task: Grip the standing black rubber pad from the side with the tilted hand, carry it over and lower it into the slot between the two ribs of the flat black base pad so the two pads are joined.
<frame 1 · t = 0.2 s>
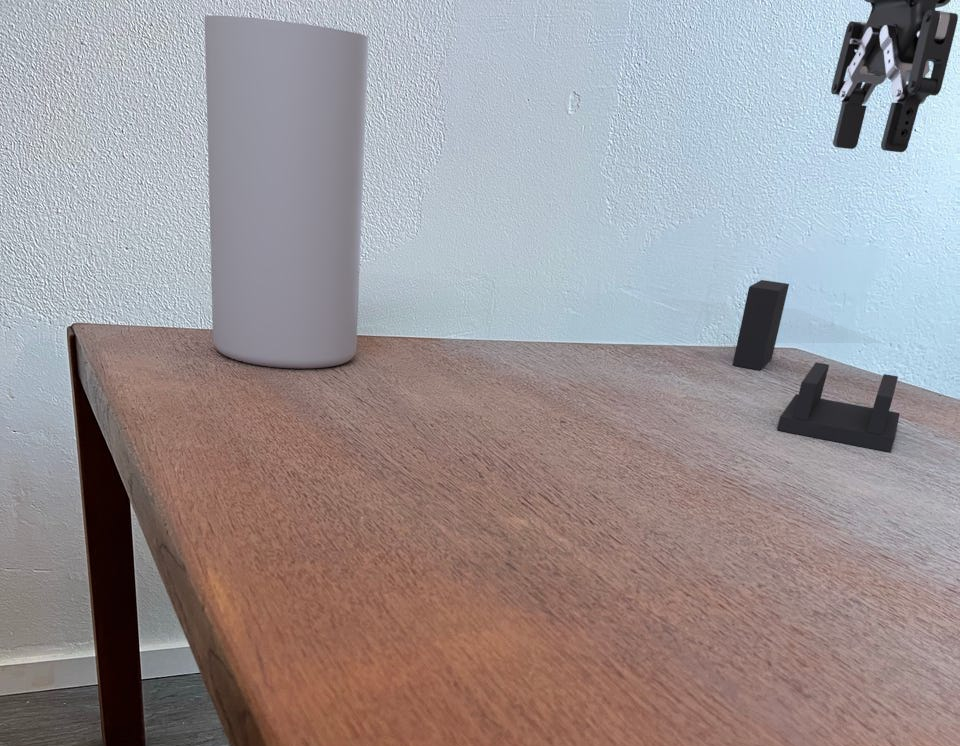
hand: (867, 149, 91), 21 cm above the table, tool pointing down, fingers open, 8 cm apart
base pad: (838, 428, 84), on the table
standing pad: (752, 362, 107), on the table
cylinder vase: (285, 356, 88), on the table
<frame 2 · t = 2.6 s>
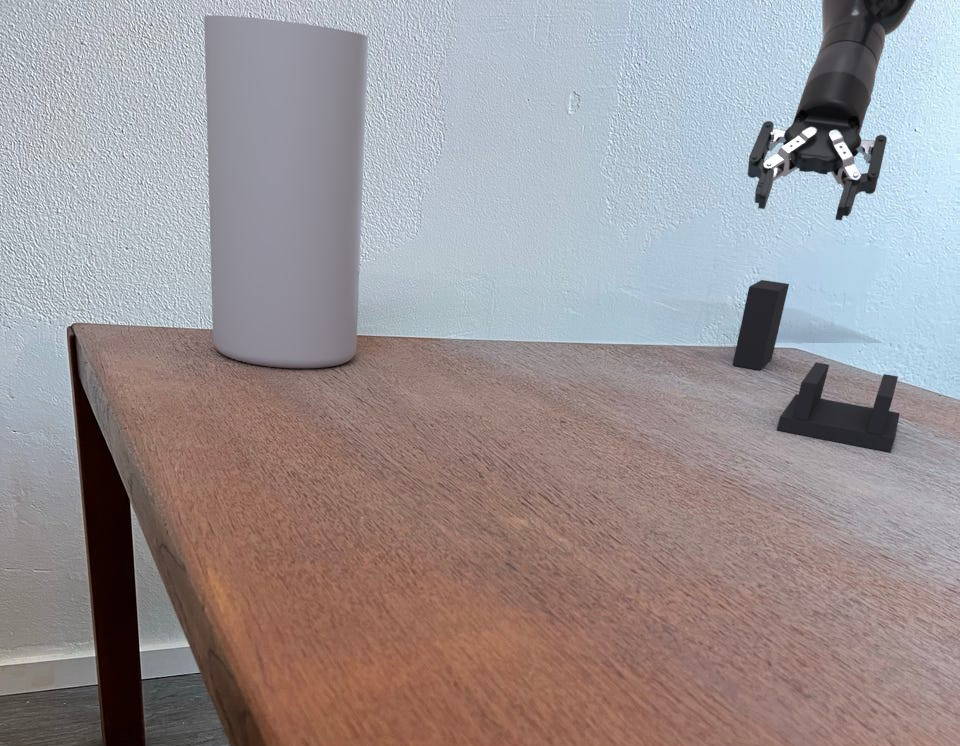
hand: (800, 209, 109), 15 cm above the table, tool tilted 45°, fingers open, 8 cm apart
nothing on the table moved.
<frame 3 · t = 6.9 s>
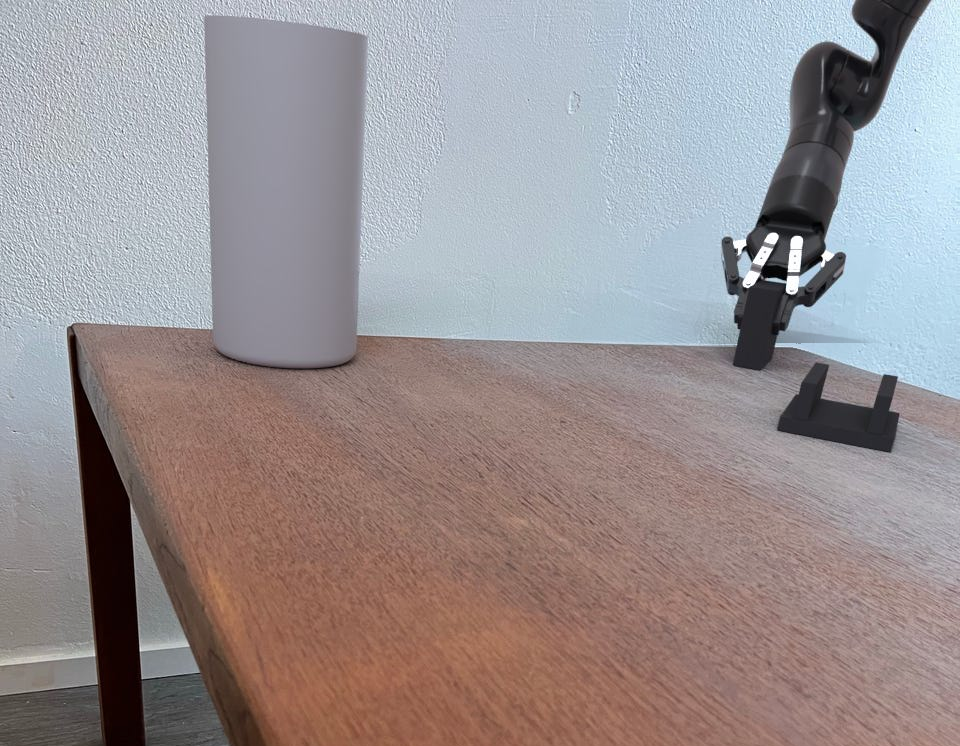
hand: (758, 326, 104), 4 cm above the table, tool tilted 45°, fingers closed on standing pad, 3 cm apart
standing pad: (752, 362, 107), on the table, touching gripper
everything else where it was.
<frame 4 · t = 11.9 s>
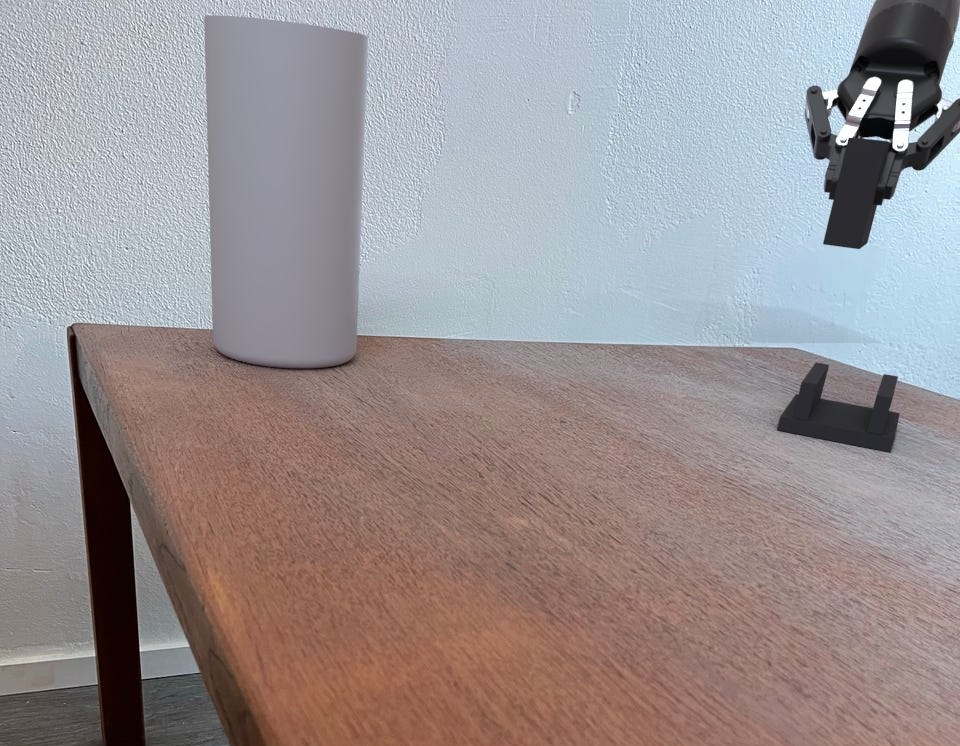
hand: (856, 194, 81), 18 cm above the table, tool tilted 45°, fingers closed on standing pad, 3 cm apart
standing pad: (845, 244, 85), point 14 cm above the table, touching gripper
everything else where it was.
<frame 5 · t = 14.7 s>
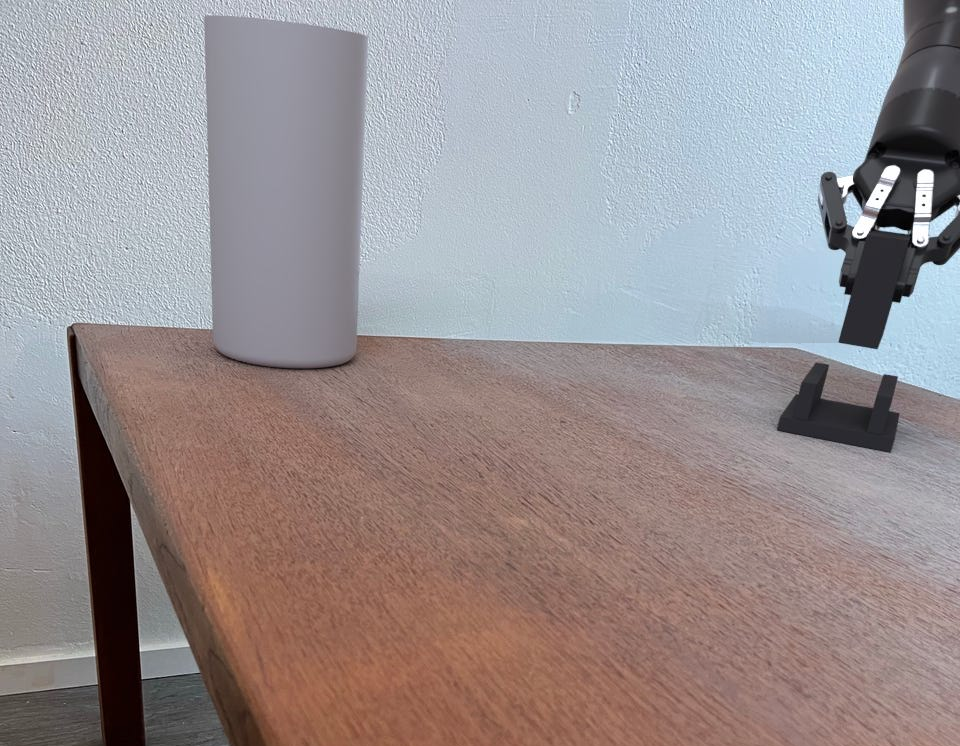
hand: (874, 291, 77), 11 cm above the table, tool tilted 45°, fingers closed on standing pad, 3 cm apart
standing pad: (861, 339, 80), point 7 cm above the table, touching gripper
everything else where it was.
when the fingers open (5 cm above the table, at t = 16.7 s): standing pad stays where it is, resting on base pad.
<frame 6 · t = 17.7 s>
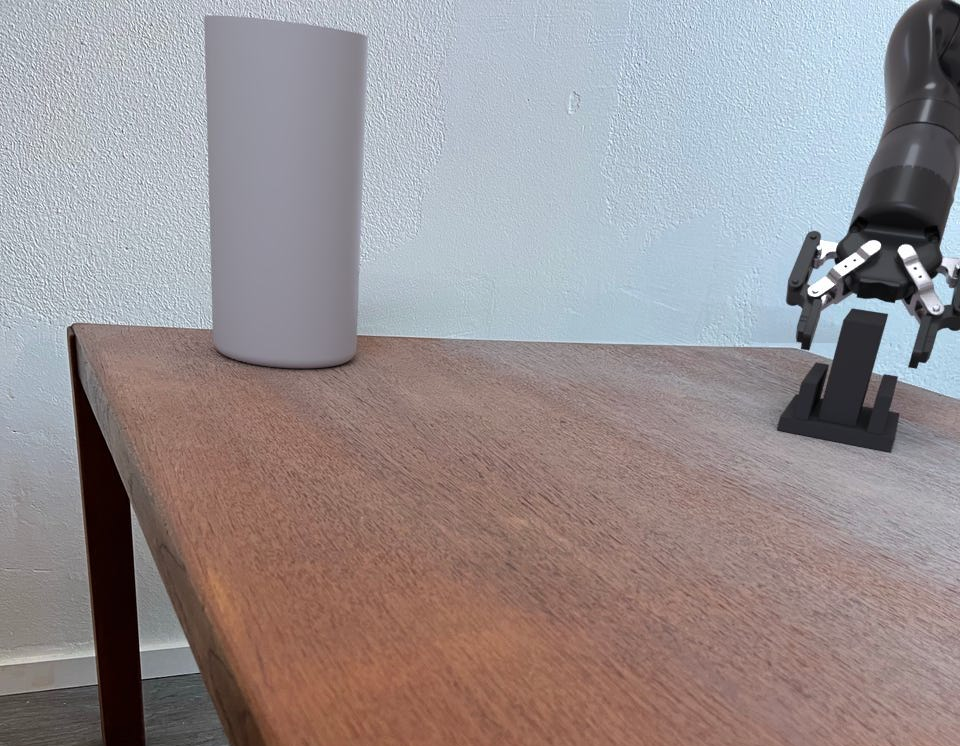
hand: (859, 353, 80), 6 cm above the table, tool tilted 45°, fingers open, 8 cm apart
standing pad: (840, 414, 83), point 1 cm above the table, touching base pad
everything else where it was.
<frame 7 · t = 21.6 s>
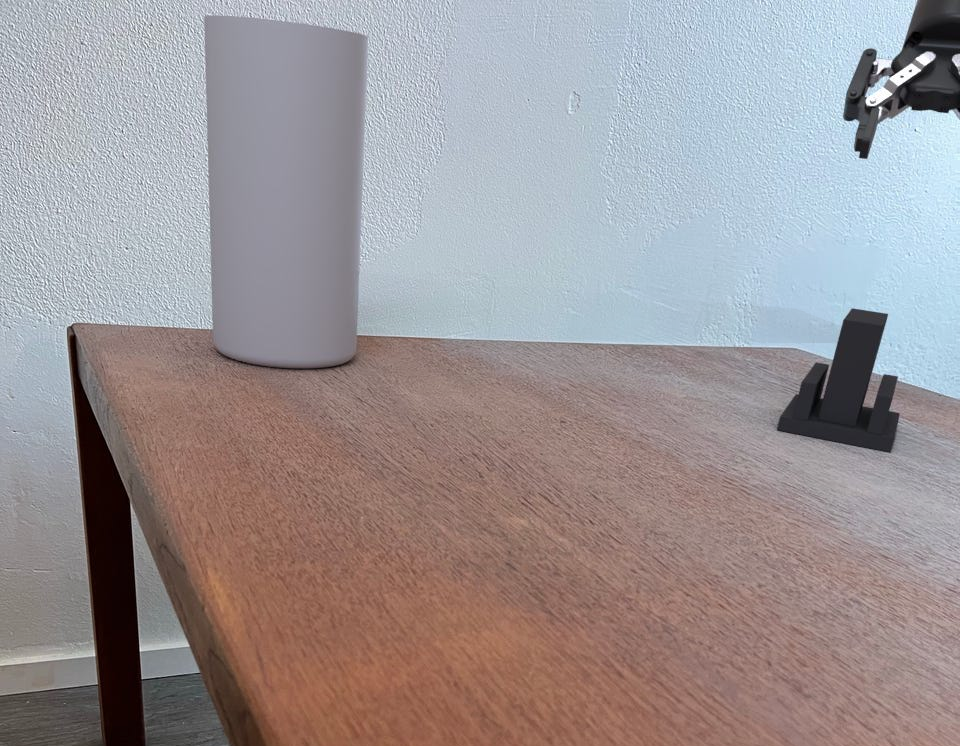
hand: (916, 156, 84), 21 cm above the table, tool tilted 45°, fingers open, 8 cm apart
nothing on the table moved.
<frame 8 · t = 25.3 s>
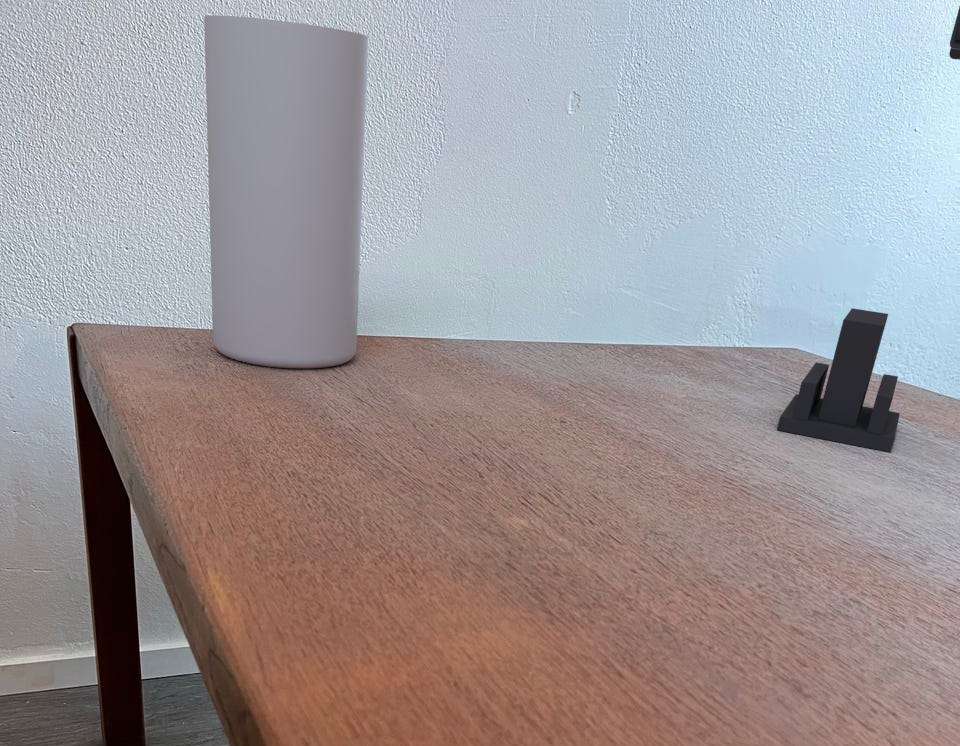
nothing on the table moved.
at the end: standing pad 0.1 cm off-centre on the base pad, point 1.2 cm above the base pad's base; standing pad tilted 0°; the gripper is holding nothing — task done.
